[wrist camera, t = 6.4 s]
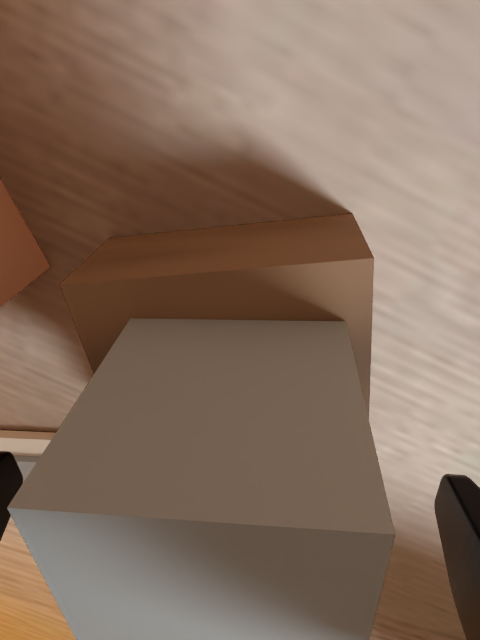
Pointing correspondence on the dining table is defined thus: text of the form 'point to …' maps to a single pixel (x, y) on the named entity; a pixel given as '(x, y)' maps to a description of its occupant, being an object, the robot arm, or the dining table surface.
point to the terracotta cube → (16, 250)
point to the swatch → (25, 447)
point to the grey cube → (214, 488)
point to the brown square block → (229, 280)
